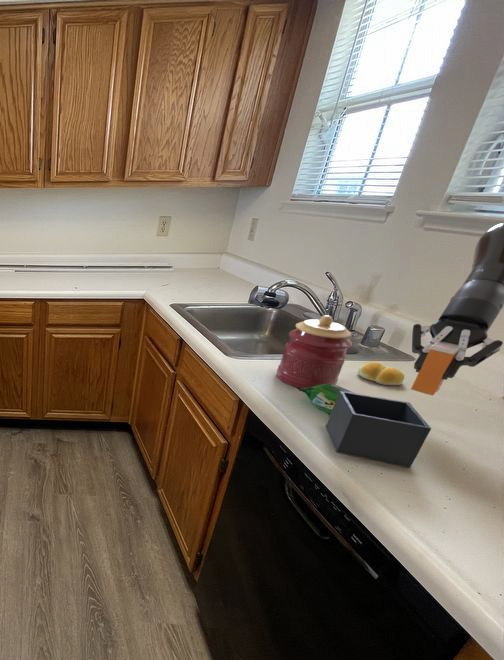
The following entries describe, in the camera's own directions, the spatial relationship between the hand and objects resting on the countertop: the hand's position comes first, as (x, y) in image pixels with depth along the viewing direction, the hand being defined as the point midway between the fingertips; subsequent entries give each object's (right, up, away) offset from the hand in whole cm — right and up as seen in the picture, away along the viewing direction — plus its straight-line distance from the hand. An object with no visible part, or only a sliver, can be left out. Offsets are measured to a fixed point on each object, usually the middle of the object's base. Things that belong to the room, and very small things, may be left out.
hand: (431, 373), depth 86 cm
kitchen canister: (-10, -2, +23) cm, 25 cm away
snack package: (-13, -9, +8) cm, 18 cm away
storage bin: (-16, -14, -3) cm, 22 cm away
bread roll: (+11, -1, +24) cm, 27 cm away
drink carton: (+2, -3, +3) cm, 5 cm away
